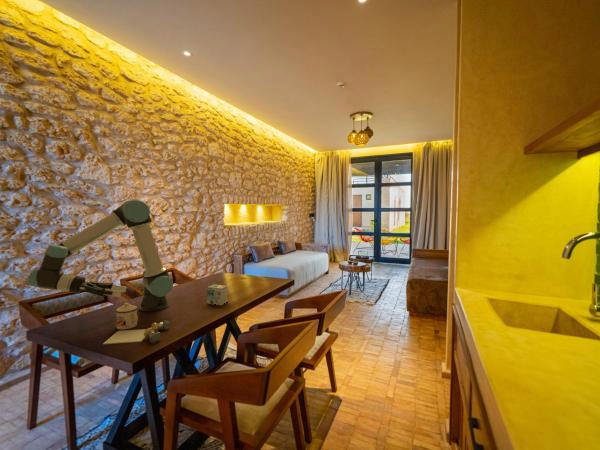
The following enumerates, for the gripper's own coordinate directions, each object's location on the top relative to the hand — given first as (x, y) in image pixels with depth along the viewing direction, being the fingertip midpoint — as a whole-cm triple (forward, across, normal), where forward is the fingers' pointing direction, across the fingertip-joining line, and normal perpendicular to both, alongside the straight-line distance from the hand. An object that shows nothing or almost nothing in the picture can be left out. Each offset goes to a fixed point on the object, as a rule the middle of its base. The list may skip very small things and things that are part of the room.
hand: (123, 291), depth 137 cm
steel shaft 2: (+21, +10, -13) cm, 27 cm away
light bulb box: (+49, -22, -2) cm, 54 cm away
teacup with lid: (+7, 0, -16) cm, 18 cm away
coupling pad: (+9, +12, -17) cm, 23 cm away
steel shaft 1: (+19, +20, -14) cm, 31 cm away
